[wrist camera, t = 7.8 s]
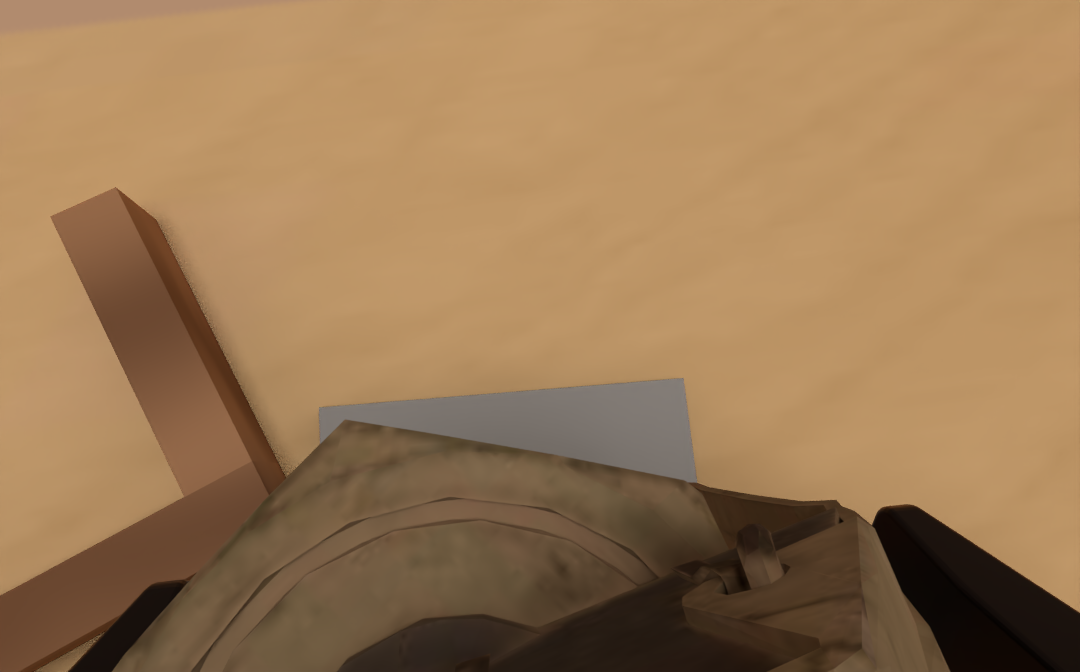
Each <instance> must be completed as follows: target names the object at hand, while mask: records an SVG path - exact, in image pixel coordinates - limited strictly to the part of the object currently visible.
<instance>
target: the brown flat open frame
mask: <svg viewBox="0 0 1080 672" xmlns="http://www.w3.org/2000/svg"><path fill="white" fill-rule="evenodd" d="M51 219H52V221H53V223H54V225H55V228H56V230H57V232H58V234H59V236H60V238H61V240H62V242H63V244H64V246H65V248H66V250H67V253H68V255H69V257H70V259H71V261H72V263H73V265H74V267H75V269H76V271H77V273H78V276H79V278H80V280H81V282H82V284H83V286H84V288H85V290H86V292H87V294H88V296H89V298H90V301H91V303H92V305H93V307H94V309H95V311H96V313H97V315H98V317H99V319H100V321H101V323H102V326H103V328H104V330H105V332H106V334H107V336H108V338H109V340H110V342H111V344H112V346H113V349H114V351H115V353H116V355H117V357H118V359H119V361H120V363H121V365H122V367H123V369H124V371H125V374H126V376H127V378H128V380H129V382H130V384H131V386H132V388H133V390H134V392H135V394H136V397H137V399H138V401H139V403H140V405H141V407H142V409H143V411H144V413H145V415H146V417H147V419H148V422H149V424H150V426H151V428H152V430H153V432H154V434H155V436H156V438H157V440H158V442H159V445H160V447H161V449H162V451H163V453H164V455H165V457H166V459H167V461H168V463H169V465H170V467H171V470H172V472H173V474H174V476H175V478H176V480H177V482H178V484H179V486H180V488H181V490H182V493H183V495H184V498H182V499H180V500H178V501H176V502H174V503H173V504H171V505H169V506H167V507H165V508H163V509H161V510H160V511H158V512H156V513H154V514H152V515H150V516H148V517H146V518H145V519H143V520H141V521H139V522H137V523H135V524H133V525H132V526H130V527H128V528H126V529H124V530H122V531H120V532H118V533H117V534H115V535H113V536H111V537H109V538H107V539H105V540H104V541H102V542H100V543H98V544H96V545H94V546H92V547H90V548H89V549H87V550H85V551H83V552H81V553H79V554H77V555H76V556H74V557H72V558H70V559H68V560H66V561H64V562H62V563H61V564H59V565H57V566H55V567H53V568H51V569H49V570H48V571H46V572H44V573H42V574H40V575H38V576H36V577H34V578H33V579H31V580H29V581H27V582H25V583H23V584H21V585H20V586H18V587H16V588H14V589H12V590H10V591H8V592H6V593H5V594H3V595H1V596H0V672H33V671H35V670H37V669H39V668H40V667H42V666H44V665H46V664H48V663H49V662H51V661H53V660H55V659H56V658H58V657H60V656H62V655H64V654H65V653H67V652H69V651H71V650H73V649H74V648H76V647H78V646H80V645H82V644H83V643H85V642H87V641H89V640H90V639H92V638H94V637H96V636H98V635H99V634H101V633H103V632H105V631H106V630H107V629H108V628H109V627H110V626H111V625H112V624H113V623H114V622H115V621H116V620H117V619H118V617H119V616H120V615H121V614H122V613H123V612H124V611H125V610H126V609H127V608H128V607H129V606H130V605H131V604H132V602H133V601H134V600H135V599H136V598H137V597H138V596H139V595H140V594H141V593H142V592H143V591H144V590H145V589H146V588H147V587H148V586H150V585H151V584H153V583H156V582H162V581H172V580H181V579H185V580H189V581H190V580H191V579H192V577H193V576H194V575H195V574H196V573H197V572H198V571H199V570H200V569H201V567H202V566H203V565H204V564H205V563H206V562H207V561H208V560H209V559H210V558H211V557H212V556H213V555H214V554H215V552H216V551H217V550H218V549H219V548H220V547H221V546H222V545H223V544H224V543H225V542H226V541H227V540H228V538H229V537H230V536H231V535H232V534H233V533H234V532H235V531H236V530H237V529H238V528H239V527H240V526H241V525H242V523H243V522H244V521H245V520H246V519H247V518H248V517H249V516H250V515H251V514H252V513H253V512H254V511H255V510H256V508H257V507H258V506H259V505H260V504H261V503H262V502H263V501H264V500H265V499H266V498H267V497H268V496H269V495H270V494H271V493H272V492H273V491H274V490H275V489H276V488H277V487H278V486H279V485H280V484H281V483H282V482H283V481H284V480H285V479H286V477H285V476H284V474H283V472H282V470H281V468H280V466H279V464H278V462H277V460H276V458H275V456H274V454H273V452H272V450H271V448H270V446H269V444H268V442H267V440H266V438H265V436H264V434H263V432H262V430H261V428H260V426H259V424H258V422H257V420H256V418H255V416H254V414H253V412H252V410H251V408H250V406H249V404H248V402H247V400H246V398H245V396H244V394H243V392H242V390H241V388H240V386H239V384H238V382H237V380H236V378H235V376H234V374H233V372H232V370H231V368H230V366H229V364H228V362H227V360H226V358H225V356H224V354H223V352H222V350H221V348H220V346H219V344H218V342H217V340H216V338H215V336H214V334H213V332H212V330H211V328H210V326H209V324H208V322H207V320H206V318H205V316H204V314H203V312H202V310H201V308H200V306H199V304H198V302H197V300H196V299H195V297H194V295H193V293H192V291H191V289H190V287H189V285H188V283H187V281H186V279H185V277H184V275H183V273H182V271H181V269H180V267H179V265H178V263H177V261H176V259H175V257H174V255H173V253H172V251H171V249H170V247H169V245H168V243H167V241H166V239H165V237H164V235H163V233H162V231H161V229H160V227H159V225H158V223H157V221H156V219H155V218H153V217H152V216H151V215H150V214H148V213H147V212H146V211H145V210H143V209H142V208H141V207H140V206H138V205H137V204H136V203H135V202H133V201H132V200H131V199H130V198H128V197H127V196H126V195H125V194H123V193H122V192H121V191H120V190H118V189H117V188H116V187H115V188H113V189H111V190H109V191H107V192H104V193H102V194H100V195H98V196H95V197H93V198H91V199H89V200H86V201H84V202H82V203H80V204H77V205H75V206H73V207H71V208H69V209H66V210H64V211H62V212H60V213H57V214H55V215H53V216H51Z"/></svg>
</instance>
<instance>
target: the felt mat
mask: <svg viewBox="0 0 1080 672" xmlns="http://www.w3.org/2000/svg"><path fill="white" fill-rule="evenodd" d="M345 419H346V420H352V421H358V422H364V423H370V424H377V425H383V426H389V427H395V428H401V429H408V430H414V431H420V432H426V433H432V434H438V435H444V436H450V437H456V438H461V439H467V440H473V441H479V442H484V443H490V444H496V445H502V446H508V447H513V448H519V449H525V450H531V451H536V452H542V453H548V454H554V455H559V456H564V457H569V458H574V459H579V460H585V461H590V462H595V463H600V464H605V465H610V466H615V467H620V468H625V469H630V470H635V471H640V472H645V473H650V474H655V475H660V476H665V477H670V478H676V479H681V480H685V481H686V482H696V483H697V478H696V470H695V463H694V455H693V447H692V440H691V432H690V425H689V417H688V410H687V402H686V394H685V387H684V379H683V378H680V379H668V380H655V381H643V382H631V383H618V384H606V385H593V386H581V387H568V388H556V389H544V390H531V391H519V392H506V393H494V394H481V395H469V396H457V397H444V398H432V399H419V400H407V401H394V402H382V403H370V404H357V405H345V406H332V407H320V408H319V424H320V444H321V443H322V442H323V441H324V440H325V439H326V438H327V437H328V436H329V435H330V434H331V433H332V432H333V431H334V430H335V429H336V428H337V427H338V426H339V425H340V424H341V423H342V422H343V421H344V420H345Z"/></svg>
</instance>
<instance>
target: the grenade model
mask: <svg viewBox="0 0 1080 672" xmlns="http://www.w3.org/2000/svg"><path fill="white" fill-rule="evenodd" d="M112 672H950V670H949V668H948V665H947V663H946V661H945V659H944V657H943V655H942V652H941V650H940V648H939V646H938V644H937V641H936V639H935V637H934V635H933V633H932V631H931V628H930V626H929V625H928V624H927V623H926V621H925V620H924V619H923V618H922V616H921V615H920V614H919V613H918V611H917V610H916V609H915V608H914V606H913V605H912V604H911V603H910V601H909V600H908V599H907V598H906V596H905V595H904V594H903V593H902V591H901V588H900V586H899V584H898V581H897V579H896V577H895V574H894V572H893V570H892V567H891V565H890V563H889V560H888V558H887V556H886V553H885V551H884V549H883V547H882V544H881V542H880V540H879V537H878V535H877V533H876V530H875V528H874V527H873V526H872V525H870V524H869V523H868V522H867V521H866V520H865V519H863V518H862V517H861V516H860V515H859V514H858V513H856V512H855V511H853V510H850V509H847V508H845V507H842V506H841V505H840V504H839V503H838V502H837V500H826V501H804V502H803V501H795V500H788V499H780V498H772V497H764V496H757V495H750V494H744V493H739V492H733V491H727V490H721V489H716V488H710V487H707V486H704V485H701V484H698V483H696V482H686V481H685V480H681V479H676V478H670V477H665V476H660V475H655V474H650V473H645V472H640V471H635V470H630V469H625V468H620V467H615V466H610V465H605V464H600V463H595V462H590V461H585V460H579V459H574V458H569V457H564V456H559V455H554V454H548V453H542V452H536V451H531V450H525V449H519V448H513V447H508V446H502V445H496V444H490V443H484V442H479V441H473V440H467V439H461V438H456V437H450V436H444V435H438V434H432V433H426V432H420V431H414V430H408V429H401V428H395V427H389V426H383V425H377V424H370V423H364V422H358V421H352V420H346V419H345V420H344V421H343V422H342V423H341V424H340V425H339V426H338V427H337V428H336V429H335V430H334V431H333V432H332V433H331V434H330V435H329V436H328V437H327V438H326V439H325V440H324V441H323V442H322V443H321V444H320V445H319V446H318V447H317V448H316V449H315V450H314V451H313V452H312V453H311V454H310V455H309V456H308V457H307V458H306V459H305V460H304V461H303V462H302V463H301V464H300V465H299V466H298V467H297V468H296V469H295V470H294V471H293V472H292V473H291V474H290V475H289V476H288V477H287V478H286V479H285V480H284V481H283V482H282V483H281V484H280V485H279V486H278V487H277V488H276V489H275V490H274V491H273V492H272V493H271V494H270V495H269V496H268V497H267V498H266V499H265V500H264V501H263V502H262V503H261V504H260V505H259V506H258V507H257V508H256V510H255V511H254V512H253V513H252V514H251V515H250V516H249V517H248V518H247V519H246V520H245V521H244V522H243V523H242V525H241V526H240V527H239V528H238V529H237V530H236V531H235V532H234V533H233V534H232V535H231V536H230V537H229V538H228V540H227V541H226V542H225V543H224V544H223V545H222V546H221V547H220V548H219V549H218V550H217V551H216V552H215V554H214V555H213V556H212V557H211V558H210V559H209V560H208V561H207V562H206V563H205V564H204V565H203V566H202V567H201V569H200V570H199V571H198V572H197V573H196V574H195V575H194V576H193V577H192V579H191V580H190V581H189V582H188V583H187V584H186V585H185V587H184V588H183V589H182V590H181V591H180V592H179V593H178V594H177V596H176V597H175V598H174V599H173V600H172V601H171V602H170V603H169V605H168V606H167V607H166V608H165V609H164V610H163V611H162V612H161V614H160V615H159V616H158V617H157V618H156V619H155V620H154V622H153V623H152V624H151V625H150V626H149V627H148V628H147V629H146V631H145V632H144V633H143V634H142V635H141V636H140V637H139V638H138V640H137V641H136V642H135V643H134V644H133V645H132V646H131V647H130V649H129V650H128V651H127V652H126V653H125V655H124V656H123V657H122V659H121V660H120V661H119V663H118V664H117V665H116V667H115V668H114V669H113V671H112Z"/></svg>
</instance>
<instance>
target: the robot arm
mask: <svg viewBox="0 0 1080 672" xmlns="http://www.w3.org/2000/svg"><path fill="white" fill-rule="evenodd" d="M872 526H873V527H874V528H875V530H876V533H877V535H878V537H879V540H880V542H881V544H882V547H883V549H884V551H885V553H886V556H887V558H888V560H889V563H890V565H891V567H892V570H893V572H894V574H895V577H896V579H897V581H898V584H899V586H900V588H901V591H902V593H903V594H904V595H905V596H906V598H907V599H908V600H909V601H910V603H911V604H912V605H913V606H914V608H915V609H916V610H917V611H918V613H919V614H920V615H921V616H922V618H923V619H924V620H925V621H926V623H927V624H928V625H929V626H930V628H931V631H932V633H933V635H934V637H935V639H936V641H937V644H938V646H939V648H940V650H941V652H942V655H943V657H944V659H945V661H946V663H947V665H948V668H949V670H950V672H1080V613H1079V612H1078V611H1076V610H1075V609H1073V608H1072V607H1070V606H1069V605H1067V604H1066V603H1064V602H1062V601H1061V600H1059V599H1058V598H1056V597H1055V596H1053V595H1052V594H1050V593H1049V592H1047V591H1046V590H1044V589H1043V588H1041V587H1040V586H1038V585H1036V584H1035V583H1033V582H1032V581H1030V580H1029V579H1027V578H1026V577H1024V576H1023V575H1021V574H1020V573H1018V572H1017V571H1015V570H1014V569H1012V568H1011V567H1009V566H1007V565H1006V564H1004V563H1003V562H1001V561H1000V560H998V559H997V558H995V557H994V556H992V555H991V554H989V553H988V552H986V551H985V550H983V549H981V548H980V547H978V546H977V545H975V544H974V543H972V542H971V541H969V540H968V539H966V538H965V537H963V536H962V535H960V534H959V533H957V532H955V531H954V530H952V529H951V528H949V527H948V526H946V525H945V524H943V523H942V522H940V521H939V520H937V519H936V518H934V517H933V516H931V515H929V514H928V513H926V512H925V511H923V510H922V509H920V508H918V507H916V506H914V505H908V504H905V505H895V506H886V507H882V508H881V509H880V510H879V511H878V512H877V514H876V516H875V519H874V521H873V524H872ZM188 582H189V580H185V579H181V580H172V581H162V582H156V583H153V584H151V585H150V586H148V587H147V588H146V589H145V590H144V591H143V592H142V593H141V594H140V595H139V596H138V597H137V598H136V599H135V600H134V601H133V602H132V604H131V605H130V606H129V607H128V608H127V609H126V610H125V611H124V612H123V613H122V614H121V615H120V616H119V617H118V619H117V620H116V621H115V622H114V623H113V624H112V625H111V626H110V627H109V628H108V629H107V630H106V631H105V632H104V634H103V635H102V636H101V637H100V638H99V639H98V640H97V641H96V642H95V643H94V644H93V645H92V646H91V647H90V648H89V650H88V651H87V652H86V653H85V654H84V655H83V656H82V657H81V658H80V659H79V660H78V661H77V662H76V663H75V665H74V666H73V667H72V668H71V669H70V670H69V671H68V672H112V671H113V669H114V668H115V667H116V665H117V664H118V663H119V661H120V660H121V659H122V657H123V656H124V655H125V653H126V652H127V651H128V650H129V649H130V647H131V646H132V645H133V644H134V643H135V642H136V641H137V640H138V638H139V637H140V636H141V635H142V634H143V633H144V632H145V631H146V629H147V628H148V627H149V626H150V625H151V624H152V623H153V622H154V620H155V619H156V618H157V617H158V616H159V615H160V614H161V612H162V611H163V610H164V609H165V608H166V607H167V606H168V605H169V603H170V602H171V601H172V600H173V599H174V598H175V597H176V596H177V594H178V593H179V592H180V591H181V590H182V589H183V588H184V587H185V585H186V584H187V583H188Z"/></svg>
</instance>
